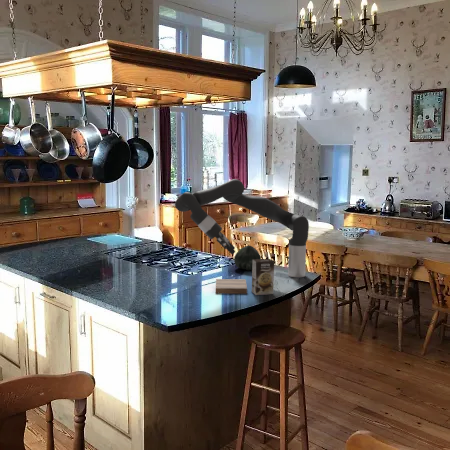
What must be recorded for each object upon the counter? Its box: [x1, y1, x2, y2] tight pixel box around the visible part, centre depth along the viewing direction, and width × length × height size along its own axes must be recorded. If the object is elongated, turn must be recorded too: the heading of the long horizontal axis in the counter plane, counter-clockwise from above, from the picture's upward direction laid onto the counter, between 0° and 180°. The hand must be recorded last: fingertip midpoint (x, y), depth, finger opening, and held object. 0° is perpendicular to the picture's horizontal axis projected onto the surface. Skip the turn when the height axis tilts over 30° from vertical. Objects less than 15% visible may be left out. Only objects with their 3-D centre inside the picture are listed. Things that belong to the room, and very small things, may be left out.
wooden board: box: [215, 278, 248, 295], centre depth 250 cm, size 17×15×2 cm
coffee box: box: [251, 258, 275, 296], centre depth 242 cm, size 9×6×16 cm
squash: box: [233, 245, 262, 272], centre depth 289 cm, size 14×15×15 cm
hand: (233, 251), depth 240 cm, fingers open, 8 cm apart
